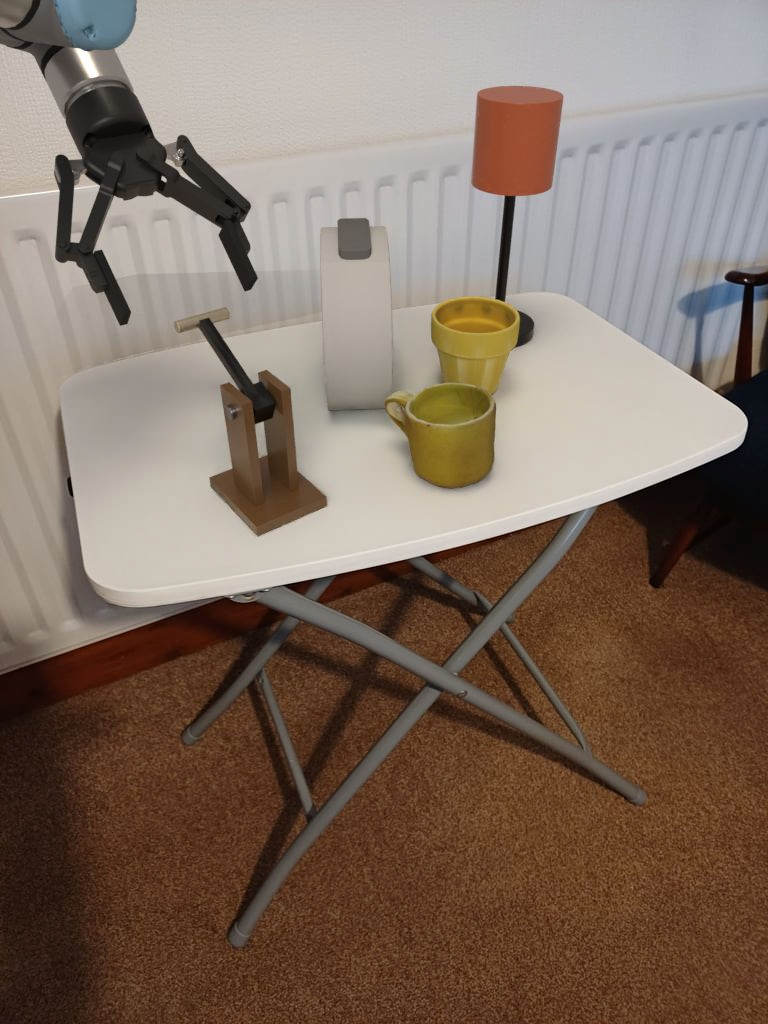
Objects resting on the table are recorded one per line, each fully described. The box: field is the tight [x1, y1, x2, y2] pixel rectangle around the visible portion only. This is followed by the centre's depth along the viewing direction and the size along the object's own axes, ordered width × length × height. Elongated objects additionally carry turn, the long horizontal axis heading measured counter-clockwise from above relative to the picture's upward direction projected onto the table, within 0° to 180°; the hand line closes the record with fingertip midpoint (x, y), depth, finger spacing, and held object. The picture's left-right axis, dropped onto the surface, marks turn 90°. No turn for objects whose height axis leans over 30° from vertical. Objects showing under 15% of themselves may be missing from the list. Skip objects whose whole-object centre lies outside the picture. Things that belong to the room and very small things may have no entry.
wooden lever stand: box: [208, 369, 328, 537], centre depth 76 cm, size 10×8×13 cm
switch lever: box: [173, 306, 276, 425], centre depth 75 cm, size 13×6×2 cm, turn 35°
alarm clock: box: [319, 217, 394, 411], centre depth 93 cm, size 21×8×20 cm, turn 3°
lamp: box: [470, 85, 564, 348], centre depth 101 cm, size 10×10×30 cm
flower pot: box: [430, 296, 520, 395], centre depth 95 cm, size 10×10×10 cm
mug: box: [384, 382, 497, 489], centre depth 83 cm, size 12×10×10 cm
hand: (191, 301), depth 78 cm, fingers open, 13 cm apart
